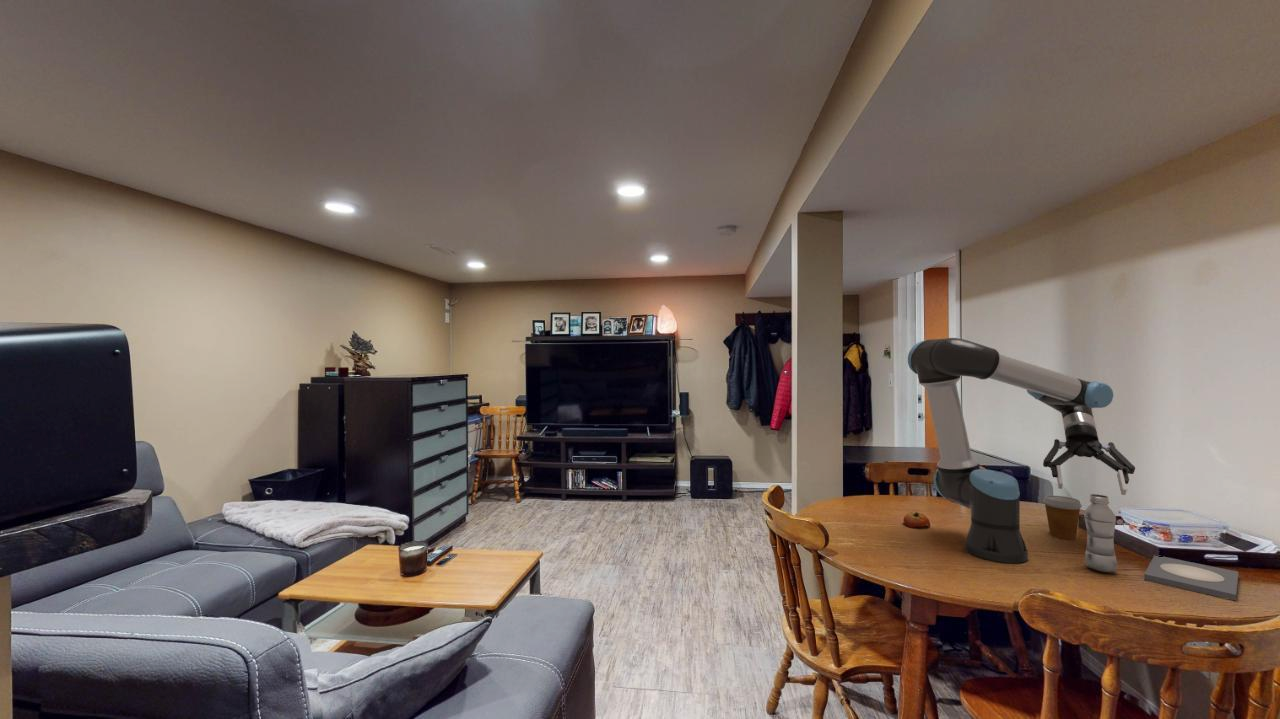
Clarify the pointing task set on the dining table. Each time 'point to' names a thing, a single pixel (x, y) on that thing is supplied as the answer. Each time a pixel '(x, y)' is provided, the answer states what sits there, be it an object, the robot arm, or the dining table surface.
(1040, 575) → the dining table surface
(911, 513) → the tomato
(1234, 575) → the board
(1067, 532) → the disposable coffee cup
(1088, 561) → the plastic bottle
